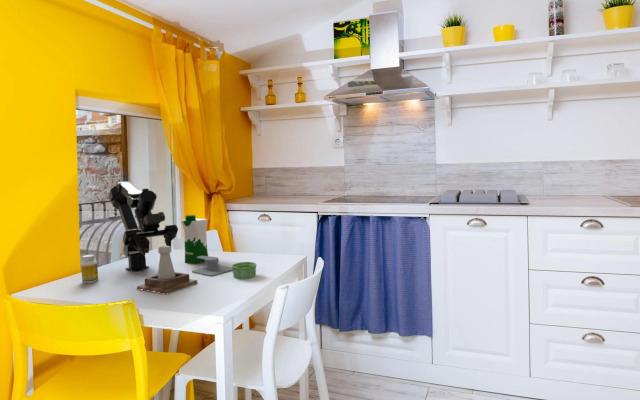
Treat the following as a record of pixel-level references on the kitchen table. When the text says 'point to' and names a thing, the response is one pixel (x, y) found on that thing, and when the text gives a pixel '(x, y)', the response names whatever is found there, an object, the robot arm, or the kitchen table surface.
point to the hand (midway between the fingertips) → (157, 252)
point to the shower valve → (212, 267)
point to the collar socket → (167, 283)
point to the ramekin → (244, 270)
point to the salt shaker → (165, 264)
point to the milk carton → (194, 239)
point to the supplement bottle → (89, 269)
